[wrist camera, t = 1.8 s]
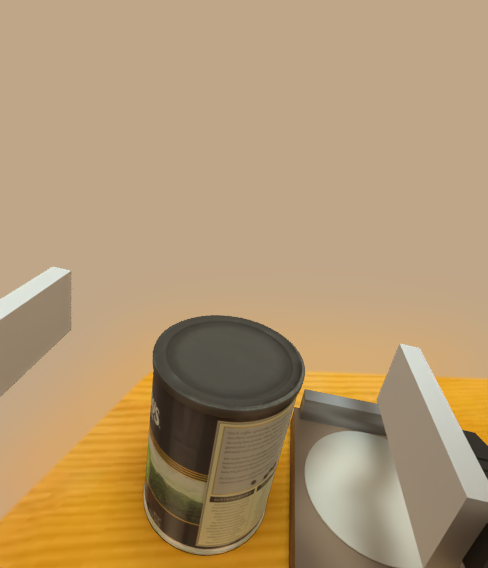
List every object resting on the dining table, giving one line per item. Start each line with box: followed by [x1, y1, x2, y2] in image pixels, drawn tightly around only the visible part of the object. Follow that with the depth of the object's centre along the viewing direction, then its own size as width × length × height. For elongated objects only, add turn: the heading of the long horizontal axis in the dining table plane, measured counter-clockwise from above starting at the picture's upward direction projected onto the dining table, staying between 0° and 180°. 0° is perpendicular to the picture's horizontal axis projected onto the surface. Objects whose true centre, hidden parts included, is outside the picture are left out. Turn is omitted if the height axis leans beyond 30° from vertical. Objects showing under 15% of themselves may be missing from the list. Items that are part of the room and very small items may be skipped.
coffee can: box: [143, 315, 305, 555], centre depth 30 cm, size 10×10×14 cm
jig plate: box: [289, 389, 465, 568], centre depth 33 cm, size 14×16×4 cm
